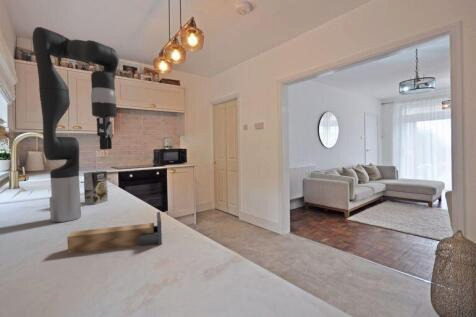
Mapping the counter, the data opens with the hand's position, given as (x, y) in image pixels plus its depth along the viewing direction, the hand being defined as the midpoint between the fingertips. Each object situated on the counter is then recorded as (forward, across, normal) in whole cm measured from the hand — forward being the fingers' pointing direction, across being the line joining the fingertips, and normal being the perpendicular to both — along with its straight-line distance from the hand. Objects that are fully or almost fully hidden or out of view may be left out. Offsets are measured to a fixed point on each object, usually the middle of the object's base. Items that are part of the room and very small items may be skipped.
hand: (106, 149), depth 82 cm
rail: (+28, +18, +4) cm, 34 cm away
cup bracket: (+28, +18, +14) cm, 36 cm away
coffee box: (+28, -46, -13) cm, 56 cm away
